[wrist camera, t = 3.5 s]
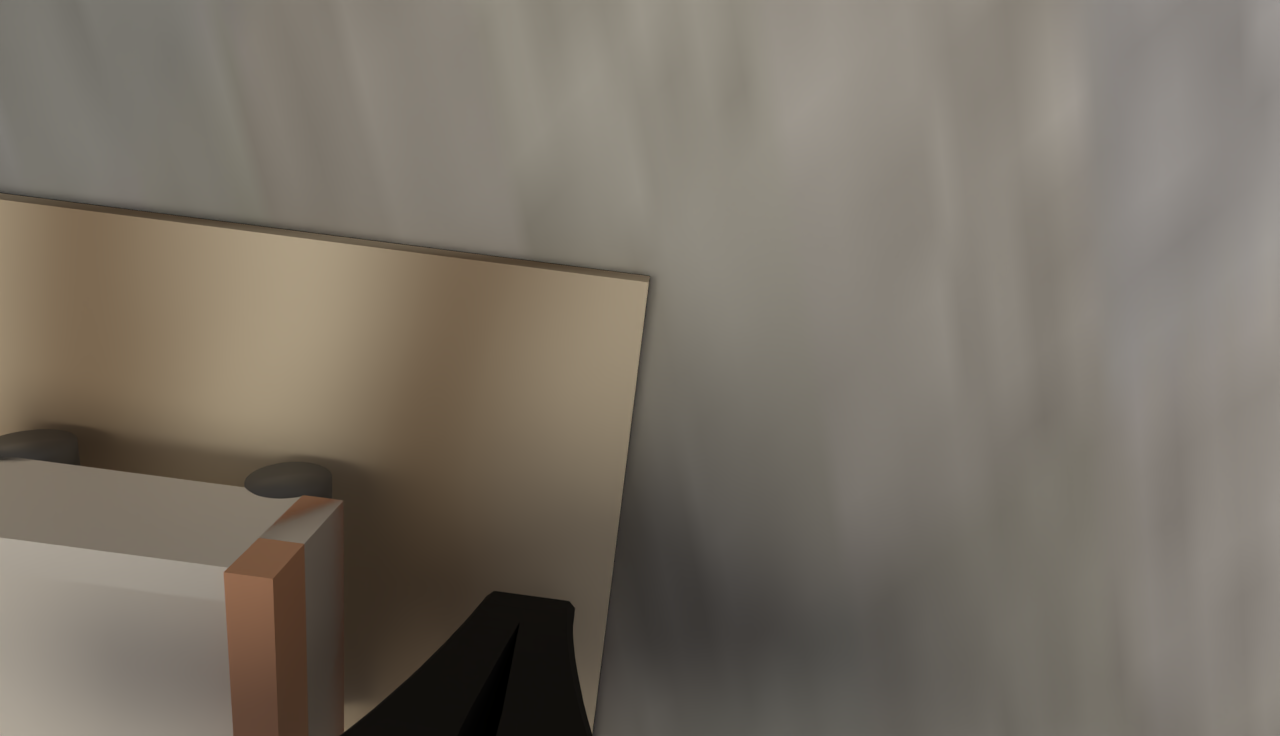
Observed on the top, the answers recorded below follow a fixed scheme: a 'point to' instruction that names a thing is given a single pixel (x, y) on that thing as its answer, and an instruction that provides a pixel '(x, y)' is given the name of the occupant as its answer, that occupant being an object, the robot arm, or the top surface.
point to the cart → (167, 599)
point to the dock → (345, 401)
